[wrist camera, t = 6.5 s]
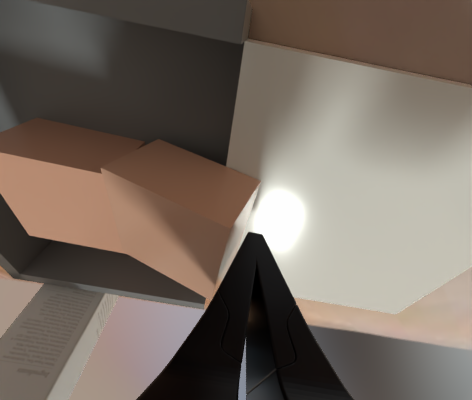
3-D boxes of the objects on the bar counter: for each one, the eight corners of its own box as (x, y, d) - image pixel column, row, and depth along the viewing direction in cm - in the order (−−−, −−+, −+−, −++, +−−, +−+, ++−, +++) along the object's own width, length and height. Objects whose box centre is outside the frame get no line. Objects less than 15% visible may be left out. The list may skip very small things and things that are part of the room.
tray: (252, 9, 7) (247, -3, 4) (212, 264, 17) (203, 309, 14) (-142, -75, 7) (-414, -144, 4) (53, 237, 17) (13, 278, 14)
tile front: (260, 180, 8) (230, 228, 6) (237, 252, 12) (211, 300, 9) (158, 138, 9) (100, 167, 7) (162, 215, 13) (123, 252, 10)
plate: (605, 112, 8) (686, 132, 7) (383, 288, 17) (395, 314, 15) (247, 38, 8) (244, 41, 6) (213, 259, 17) (208, 282, 15)
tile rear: (144, 141, 10) (110, 175, 8) (151, 214, 13) (128, 254, 11) (37, 117, 10) (-33, 145, 7) (70, 198, 13) (29, 235, 11)
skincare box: (71, 245, 17) (-154, 504, 8) (127, 260, 18) (-19, 515, 9) (80, 280, 21) (-63, 482, 12) (126, 291, 22) (25, 491, 12)
